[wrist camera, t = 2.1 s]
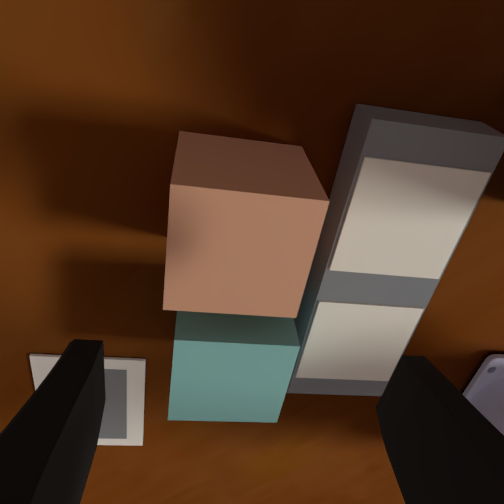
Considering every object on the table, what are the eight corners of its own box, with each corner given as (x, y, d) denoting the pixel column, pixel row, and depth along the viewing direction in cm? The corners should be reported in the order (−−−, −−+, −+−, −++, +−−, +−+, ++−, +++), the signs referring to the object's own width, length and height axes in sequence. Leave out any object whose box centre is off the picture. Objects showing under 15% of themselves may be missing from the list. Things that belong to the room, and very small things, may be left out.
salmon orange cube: (278, 246, 21) (296, 318, 16) (172, 236, 20) (162, 309, 16) (301, 145, 18) (329, 201, 14) (179, 130, 17) (170, 184, 13)
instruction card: (142, 443, 28) (142, 446, 28) (45, 441, 27) (44, 445, 27) (145, 358, 24) (145, 362, 24) (30, 353, 23) (28, 357, 23)
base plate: (370, 368, 26) (382, 397, 24) (281, 364, 25) (287, 394, 23) (482, 121, 18) (512, 139, 16) (356, 103, 17) (373, 119, 15)
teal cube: (265, 343, 24) (276, 422, 20) (174, 338, 23) (167, 419, 19) (282, 272, 21) (300, 346, 17) (181, 264, 21) (174, 340, 16)
